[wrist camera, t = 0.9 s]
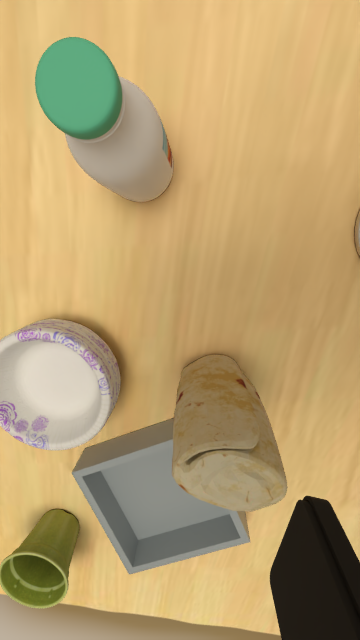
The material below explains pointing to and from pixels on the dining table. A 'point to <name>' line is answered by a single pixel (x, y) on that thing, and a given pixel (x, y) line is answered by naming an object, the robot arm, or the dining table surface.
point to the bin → (151, 502)
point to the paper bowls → (56, 384)
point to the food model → (224, 439)
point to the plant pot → (42, 562)
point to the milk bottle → (104, 120)
